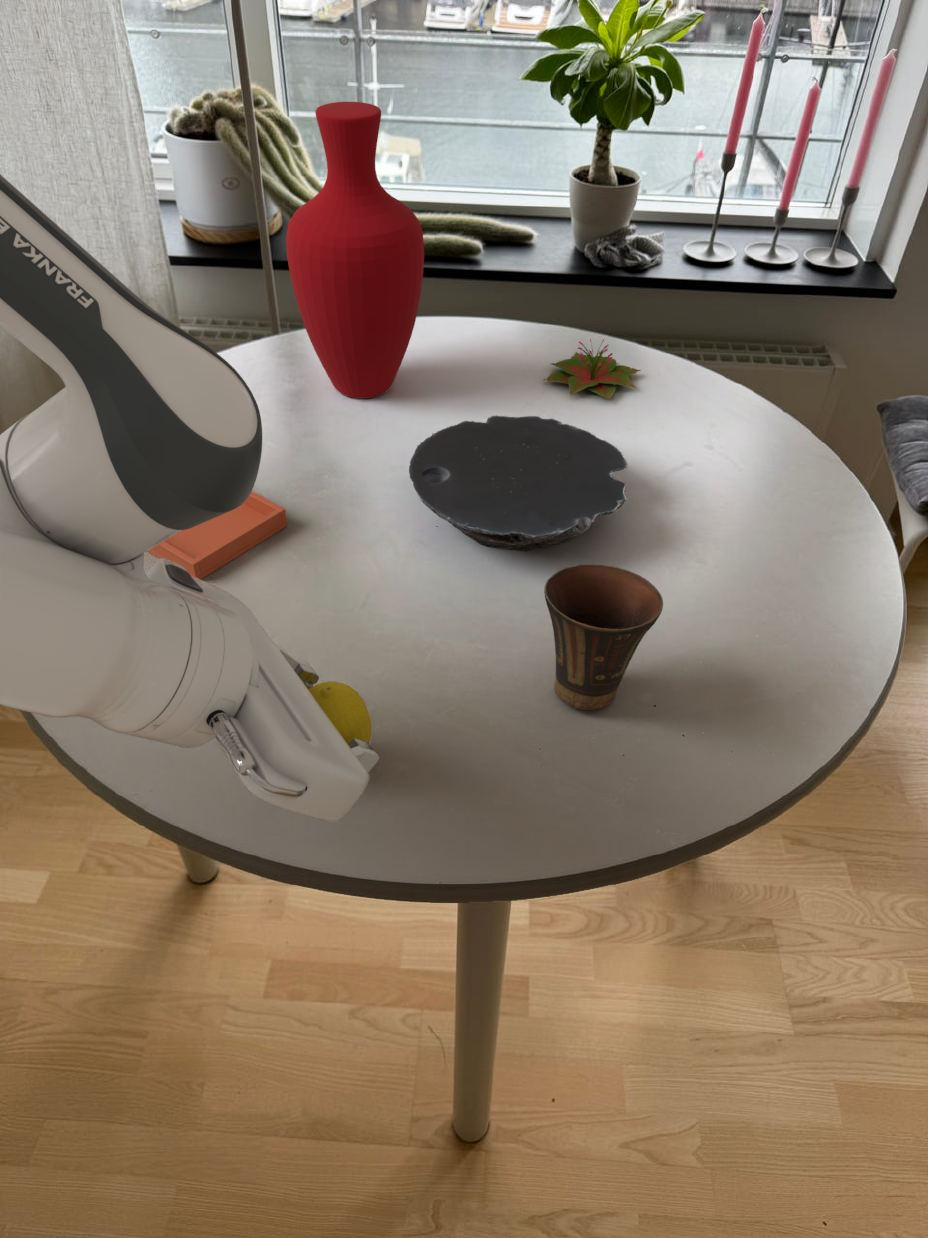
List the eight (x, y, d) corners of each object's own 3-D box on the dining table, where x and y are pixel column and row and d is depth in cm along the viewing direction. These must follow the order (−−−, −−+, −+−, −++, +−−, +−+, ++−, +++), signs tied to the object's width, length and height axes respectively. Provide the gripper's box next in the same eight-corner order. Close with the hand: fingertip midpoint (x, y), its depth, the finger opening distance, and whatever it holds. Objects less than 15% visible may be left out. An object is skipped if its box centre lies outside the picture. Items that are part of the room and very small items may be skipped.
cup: (643, 651, 81) (661, 556, 74) (647, 730, 74) (668, 633, 68) (537, 642, 82) (547, 547, 75) (532, 720, 75) (542, 623, 68)
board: (365, 539, 92) (362, 494, 89) (462, 433, 107) (463, 391, 104) (583, 605, 85) (589, 559, 82) (654, 482, 100) (661, 439, 97)
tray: (196, 582, 87) (193, 564, 85) (119, 534, 92) (114, 517, 90) (287, 525, 93) (285, 508, 92) (210, 484, 98) (207, 467, 97)
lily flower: (615, 414, 111) (620, 378, 108) (524, 386, 115) (526, 350, 112) (657, 374, 118) (663, 338, 115) (570, 349, 123) (573, 314, 120)
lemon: (325, 807, 68) (316, 731, 63) (284, 759, 71) (272, 683, 66) (388, 769, 71) (385, 693, 66) (346, 725, 74) (339, 649, 69)
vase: (372, 346, 122) (360, 82, 103) (450, 388, 115) (454, 111, 95) (275, 383, 115) (242, 105, 95) (352, 431, 107) (334, 138, 87)
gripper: (286, 742, 51) (442, 783, 62) (153, 542, 64) (301, 604, 74) (218, 830, 52) (383, 855, 63) (101, 616, 65) (255, 667, 75)
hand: (338, 717), depth 69 cm, fingers open, 8 cm apart
